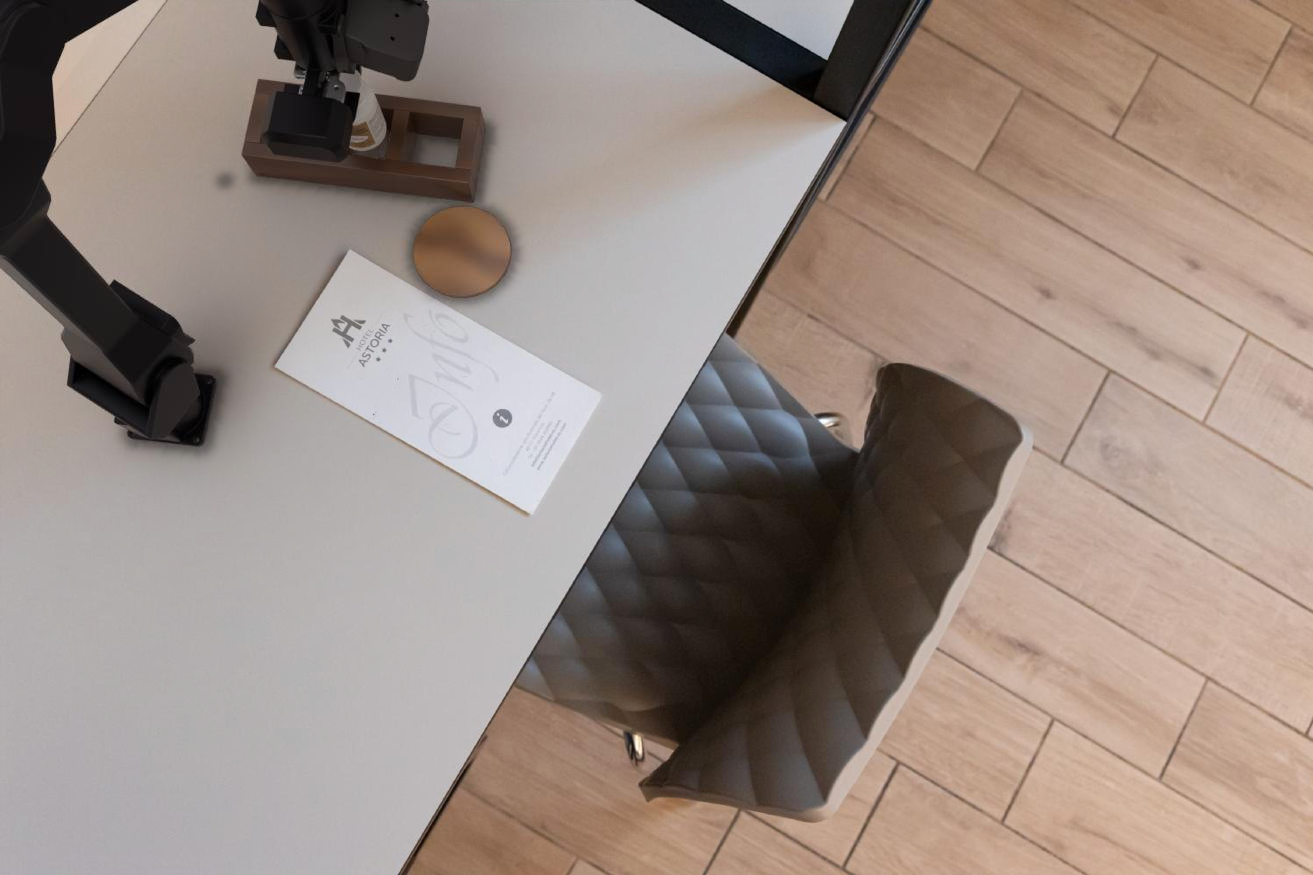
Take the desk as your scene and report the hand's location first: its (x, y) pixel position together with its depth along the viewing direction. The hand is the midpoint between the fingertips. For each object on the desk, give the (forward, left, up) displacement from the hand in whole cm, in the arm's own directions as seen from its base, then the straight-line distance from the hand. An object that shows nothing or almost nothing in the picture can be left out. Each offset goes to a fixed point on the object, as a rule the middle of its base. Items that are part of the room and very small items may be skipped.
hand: (350, 104), depth 86 cm
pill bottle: (0, 0, -5) cm, 5 cm away
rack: (0, 0, -8) cm, 8 cm away
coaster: (-9, -10, -8) cm, 16 cm away
